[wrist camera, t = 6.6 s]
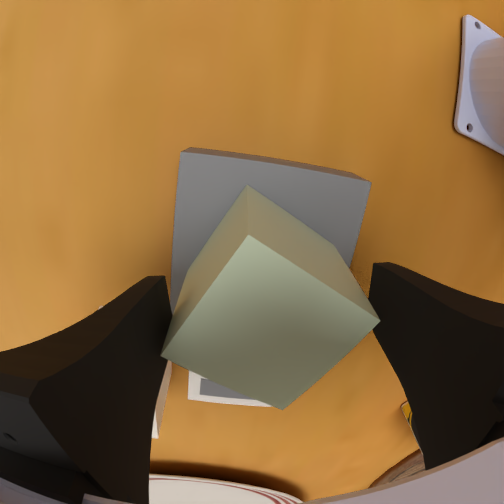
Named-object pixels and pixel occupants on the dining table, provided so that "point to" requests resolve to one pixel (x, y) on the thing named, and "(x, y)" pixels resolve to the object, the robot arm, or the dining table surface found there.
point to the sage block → (266, 305)
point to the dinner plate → (210, 492)
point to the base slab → (269, 185)
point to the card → (216, 392)
